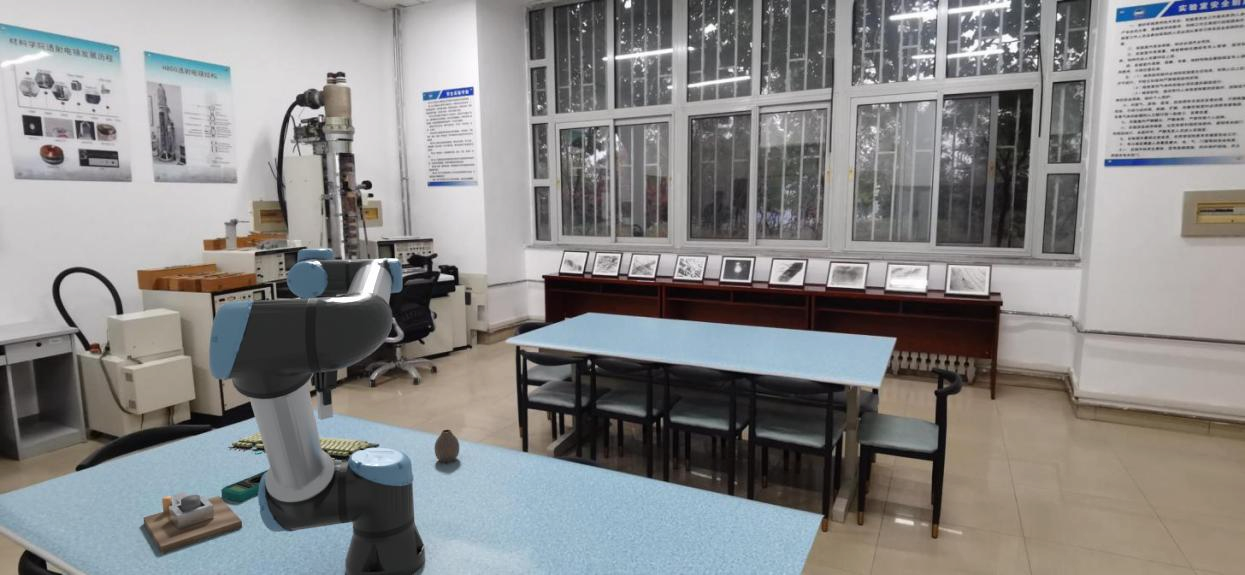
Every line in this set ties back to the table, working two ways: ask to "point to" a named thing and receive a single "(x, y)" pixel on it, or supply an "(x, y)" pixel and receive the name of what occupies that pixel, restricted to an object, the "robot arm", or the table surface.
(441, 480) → the table surface
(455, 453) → the vase
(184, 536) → the board
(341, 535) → the table surface
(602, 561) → the table surface
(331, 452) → the keyboard
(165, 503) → the dowel pin
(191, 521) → the grey frame piece
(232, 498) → the digital multimeter
